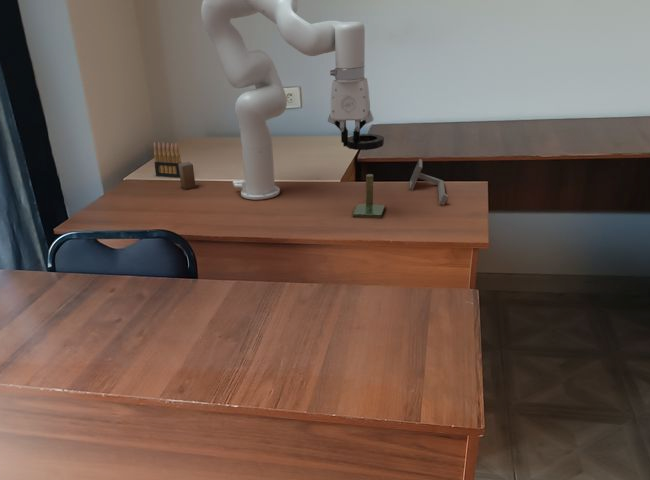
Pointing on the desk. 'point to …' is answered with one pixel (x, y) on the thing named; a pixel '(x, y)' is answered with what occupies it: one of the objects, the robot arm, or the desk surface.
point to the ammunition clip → (167, 160)
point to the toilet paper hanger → (422, 176)
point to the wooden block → (186, 175)
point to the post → (369, 203)
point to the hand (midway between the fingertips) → (350, 144)
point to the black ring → (365, 142)
